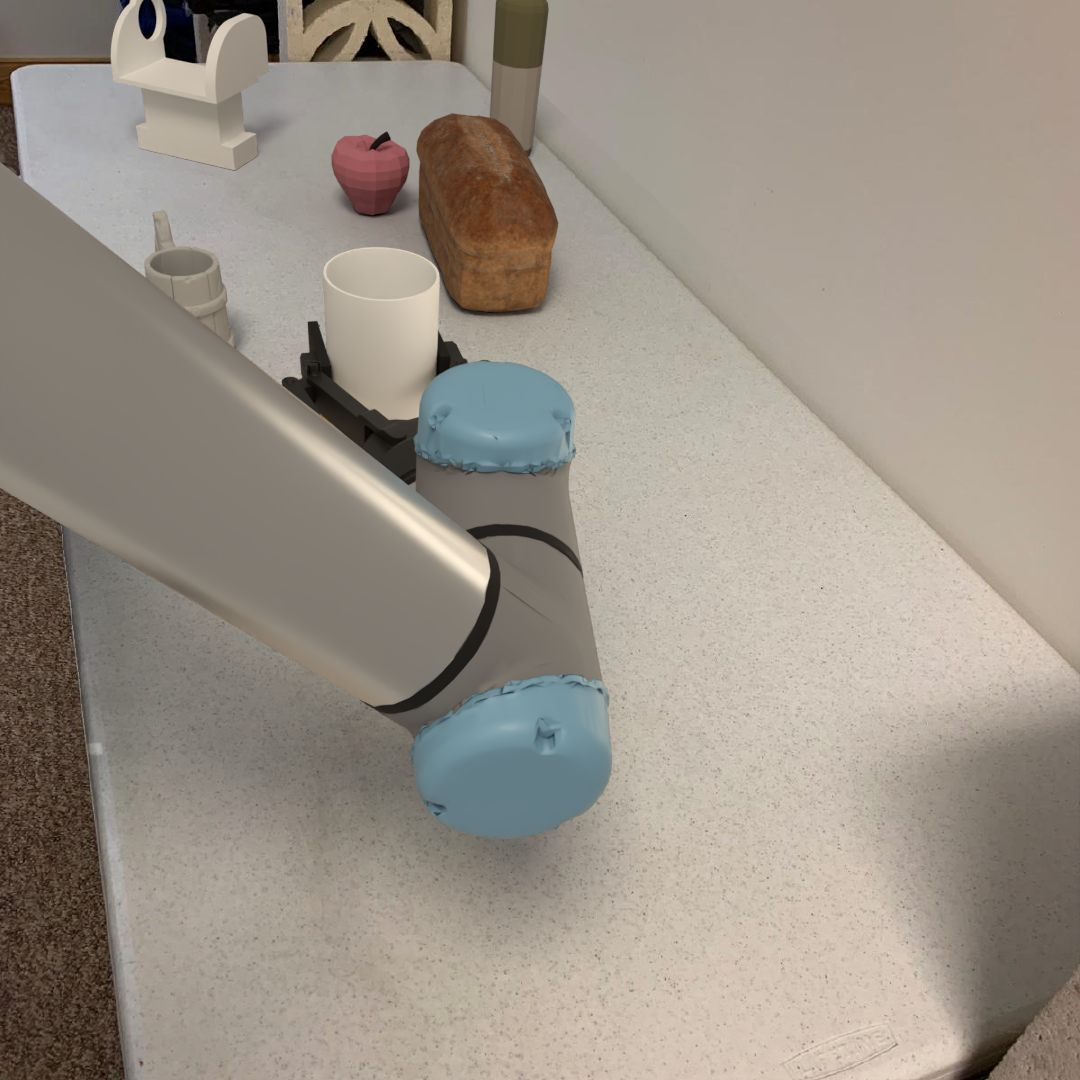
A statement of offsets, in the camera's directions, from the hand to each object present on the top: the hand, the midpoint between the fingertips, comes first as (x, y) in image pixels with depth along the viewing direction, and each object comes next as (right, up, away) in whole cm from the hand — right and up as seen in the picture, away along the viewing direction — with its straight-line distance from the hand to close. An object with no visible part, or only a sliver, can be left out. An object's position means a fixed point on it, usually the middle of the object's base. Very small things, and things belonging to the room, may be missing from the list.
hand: (370, 332), depth 79 cm
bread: (+6, +16, +38) cm, 41 cm away
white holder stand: (-32, +35, +54) cm, 72 cm away
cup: (+1, -10, +2) cm, 10 cm away
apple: (-8, +24, +45) cm, 52 cm away
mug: (-21, +2, +18) cm, 27 cm away
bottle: (+9, +39, +65) cm, 76 cm away
